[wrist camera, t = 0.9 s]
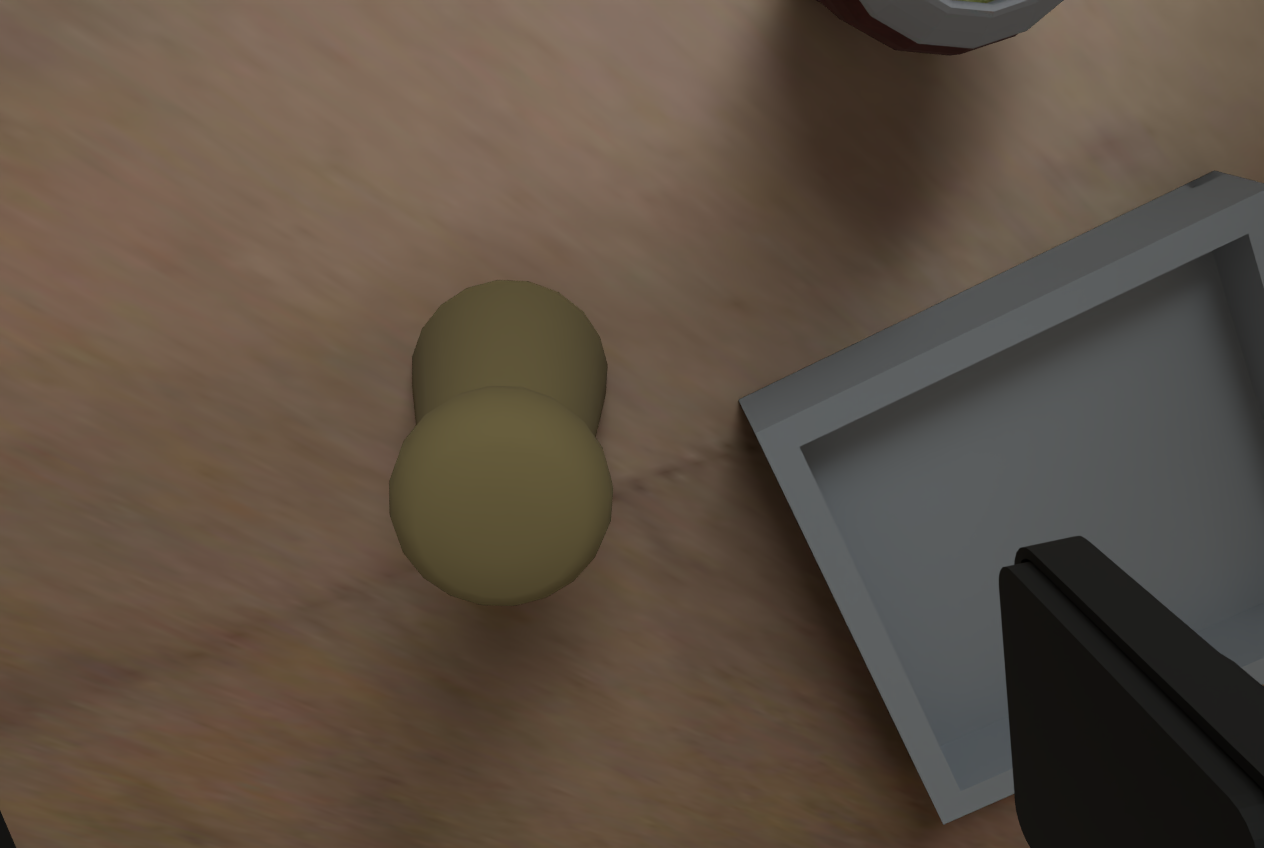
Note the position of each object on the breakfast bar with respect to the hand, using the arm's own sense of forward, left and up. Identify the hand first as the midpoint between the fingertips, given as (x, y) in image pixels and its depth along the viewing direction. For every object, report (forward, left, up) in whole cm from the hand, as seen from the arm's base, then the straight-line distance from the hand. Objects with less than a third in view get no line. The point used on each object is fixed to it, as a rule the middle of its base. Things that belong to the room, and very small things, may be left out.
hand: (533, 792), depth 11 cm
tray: (-11, +15, -26) cm, 32 cm away
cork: (+3, +3, -26) cm, 26 cm away
